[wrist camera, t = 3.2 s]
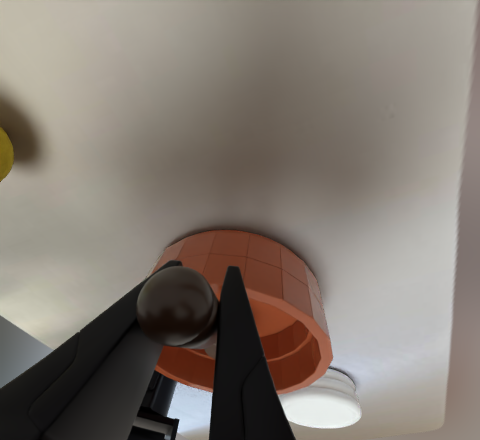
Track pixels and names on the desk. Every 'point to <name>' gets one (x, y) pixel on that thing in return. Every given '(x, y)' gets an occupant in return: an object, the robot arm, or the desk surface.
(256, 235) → the bowl
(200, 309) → the brown utensil
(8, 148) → the lemon
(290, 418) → the white round lid
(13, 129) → the desk surface
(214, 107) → the desk surface
